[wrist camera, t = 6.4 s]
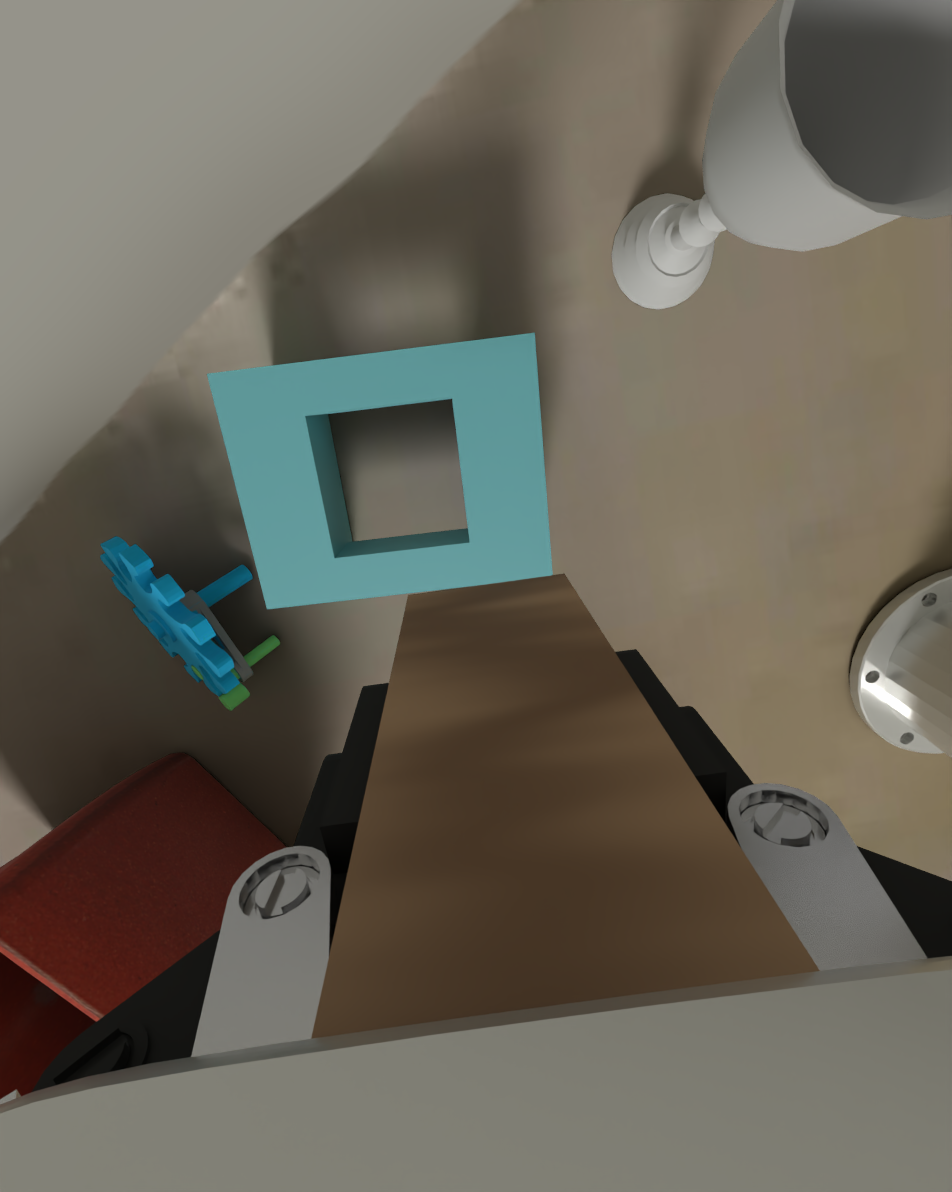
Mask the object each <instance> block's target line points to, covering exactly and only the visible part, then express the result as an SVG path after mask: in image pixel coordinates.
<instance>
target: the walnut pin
mask: <svg viewBox="0 0 952 1192" xmlns="http://www.w3.org/2000/svg"><path fill="white" fill-rule="evenodd" d="M815 971H820V970H819V969H818V967H817V965H816V964H815V962H814V961H813V959H812V958H811V956H810V955H809V953H808V951H807V950H806V948H805V947H804V945H803V944H802V942H801V941H800V939H799V937H798V936H797V934H796V933H795V931H794V930H793V928H792V927H791V925H790V923H789V922H788V920H787V919H786V917H785V916H784V914H783V913H782V911H781V909H780V908H779V906H778V905H777V903H776V902H775V900H774V899H773V897H772V896H771V894H770V892H769V891H768V889H767V888H766V886H765V885H764V883H763V882H762V880H761V878H760V877H759V875H758V874H757V872H756V871H755V869H754V868H753V866H752V864H751V863H750V861H749V860H748V858H747V857H746V855H745V854H744V852H743V850H742V849H741V847H740V846H739V844H738V843H737V841H736V840H735V838H734V836H733V835H732V833H731V832H730V830H729V829H728V827H727V826H726V824H725V822H724V821H723V819H722V818H721V816H720V815H719V813H718V812H717V810H716V808H715V807H714V805H713V804H712V802H711V801H710V799H709V798H708V796H707V795H706V793H705V791H704V790H703V788H702V787H701V785H700V784H699V782H698V781H697V779H696V777H695V776H694V774H693V773H692V771H691V770H690V768H689V767H688V765H687V763H686V762H685V760H684V759H683V757H682V756H681V754H680V753H679V751H678V749H677V748H676V746H675V745H674V743H673V742H672V740H671V739H670V737H669V735H668V734H667V732H666V731H665V729H664V728H663V726H662V725H661V723H660V721H659V720H658V718H657V717H656V715H655V714H654V712H653V711H652V709H651V708H650V706H649V704H648V703H647V701H646V700H645V698H644V697H643V695H642V694H641V692H640V690H639V689H638V687H637V686H636V684H635V683H634V681H633V680H632V678H631V676H630V675H629V673H628V672H627V670H626V669H625V667H624V666H623V664H622V662H621V661H620V659H619V658H618V656H617V655H616V653H615V652H614V650H613V648H612V647H611V645H610V644H609V642H608V641H607V639H606V638H605V636H604V634H603V633H602V631H601V630H600V628H599V627H598V625H597V624H596V622H595V620H594V619H593V617H592V616H591V614H590V613H589V611H588V610H587V608H586V607H585V605H584V603H583V602H582V600H581V599H580V597H579V596H578V594H577V593H576V591H575V589H574V588H573V586H572V585H571V583H570V582H569V580H568V579H567V577H566V575H565V574H558V575H551V576H544V577H536V578H529V579H522V580H515V581H507V582H500V583H493V584H486V585H478V586H471V587H464V588H456V589H449V590H442V591H435V592H427V593H420V594H413V595H408V599H407V603H406V608H405V612H404V617H403V622H402V626H401V631H400V635H399V640H398V644H397V649H396V654H395V658H394V663H393V667H392V672H391V676H390V681H389V685H388V690H387V695H386V699H385V704H384V708H383V713H382V717H381V722H380V727H379V731H378V736H377V740H376V745H375V749H374V754H373V758H372V763H371V768H370V772H369V777H368V781H367V786H366V790H365V795H364V800H363V804H362V809H361V813H360V818H359V822H358V827H357V831H356V836H355V841H354V845H353V850H352V854H351V859H350V863H349V868H348V873H347V877H346V882H345V886H344V891H343V895H342V900H341V905H340V909H339V914H338V918H337V923H336V927H335V932H334V936H333V941H332V946H331V950H330V955H329V959H328V964H327V968H326V973H325V978H324V982H323V987H322V991H321V996H320V1000H319V1005H318V1009H317V1014H316V1019H315V1023H314V1028H313V1032H312V1037H311V1039H313V1038H320V1037H327V1036H334V1035H342V1034H349V1033H356V1032H363V1031H370V1030H377V1029H385V1028H392V1027H399V1026H406V1025H413V1024H420V1023H428V1022H435V1021H442V1020H449V1019H456V1018H464V1017H471V1016H479V1015H486V1014H493V1013H501V1012H508V1011H516V1010H523V1009H531V1008H538V1007H546V1006H553V1005H560V1004H568V1003H576V1002H583V1001H591V1000H598V999H606V998H613V997H621V996H628V995H636V994H644V993H651V992H659V991H666V990H674V989H682V988H689V987H697V986H705V985H713V984H721V983H729V982H737V981H744V980H752V979H760V978H768V977H776V976H784V975H792V974H800V973H807V972H815Z"/></svg>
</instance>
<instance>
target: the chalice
mask: <svg viewBox="0 0 952 1192" xmlns="http://www.w3.org/2000/svg"><path fill="white" fill-rule="evenodd" d="M702 165H703V182H704V191H705V194H704V195H703V197H702V199H699V200H695V201H693V200H692V199H689V198H687V197H684V196H681V195H675V194H668V193H666V194H661V195H656V196H652V197H649V198H648V199H646V200H644V201H643V202H641V203H639V204H638V205H636V206H635V207H634V208H633V209H632V210H631V211H630V212H629V214H628V215H627V216H626V217H625V218H624V219H623V221H622V223H621V225H620V227H619V229H618V231H617V233H616V235H615V239H614V244H613V250H612V264H613V273H614V275H615V278H616V280H617V282H618V285H619V287H620V289H621V290H622V291H623V292H624V293H625V294H626V296H627V297H628V298H629V299H630V300H631V301H633V302H635V303H637V304H639V305H641V306H642V307H646V308H653V309H663V308H668V307H673V306H676V305H677V304H679V303H681V302H683V301H684V300H686V299H688V298H689V297H690V296H691V295H692V294H693V293H694V292H695V291H696V290H697V289H698V288H699V287H700V286H701V284H702V282H703V281H704V279H705V277H706V275H707V273H708V271H709V269H710V265H711V261H712V257H713V252H714V243H715V239H716V238H717V236H718V234H719V233H720V231H725V230H726V229H727V230H728V231H729V232H730V233H732V234H734V235H736V236H738V237H740V238H742V239H743V240H745V241H747V242H749V243H752V244H757V245H762V246H767V247H772V248H780V249H787V250H795V251H802V252H803V251H808V250H813V249H818V248H823V247H828V246H833V245H837V244H839V243H841V242H844V241H846V240H848V239H851V238H853V237H855V236H858V235H860V234H862V233H864V232H867V231H869V230H871V229H874V228H876V227H878V226H881V225H883V224H885V223H888V222H890V221H892V220H894V219H897V218H899V217H901V216H906V217H913V218H921V219H931V218H936V217H942V216H947V215H952V0H777V1H776V3H775V4H774V5H773V7H772V8H771V9H770V11H769V12H768V13H767V15H766V16H765V17H764V18H763V20H762V21H761V22H760V24H759V25H758V26H757V28H756V29H755V30H754V32H753V33H752V34H751V35H750V37H749V38H748V39H747V41H746V42H745V43H744V45H743V46H742V47H741V49H740V50H739V51H738V53H737V54H736V56H735V57H734V59H733V61H732V63H731V65H730V67H729V69H728V71H727V72H726V74H725V76H724V78H723V80H722V82H721V84H720V86H719V88H718V89H717V91H716V93H715V98H714V102H713V107H712V111H711V115H710V120H709V124H708V129H707V133H706V139H705V146H704V152H703V159H702Z"/></svg>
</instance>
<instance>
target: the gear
mask: <svg viewBox="0 0 952 1192" xmlns="http://www.w3.org/2000/svg"><path fill="white" fill-rule="evenodd" d="M100 545H101V547H102V548H103V550H104V551H105V553H104V554H102V555H101V556H100V558H101V560H102V561H103V563H104V564H105V565H106V566H107V567H108V568H109V569H110V570H111V571H112V573H113V574H114V575H115V576H113V577H112V580H113V582H114V584H115V586H116V588H117V589H118V590H119V591H120V592H121V593H122V594H123V595H124V596H126V597H127V598H128V599H129V600H130V601H131V602H132V603H133V604H134V605H135V606H136V607H135V608H133V611H134V612H135V614H136V615H137V617H138V618H139V619H140V621H141V622H142V623H143V624H144V625H145V626H147V628H148V629H149V631H150V632H151V633H152V634H153V635H154V636H155V637H156V638H157V639H158V640H159V642H160V644H161V645H162V646H163V648H164V649H165V650H166V651H167V652H168V653H169V655H170V656H171V657H175V656H176V655H177V654H179V655H180V656H181V657H182V658H183V659H184V661H185V662H186V663H187V664H186V665H184V667H185V669H186V671H187V672H188V673H189V674H190V675H191V676H192V677H193V678H194V679H195V680H196V681H197V682H198V683H199V682H200V681H202V680H203V681H204V683H205V684H206V686H207V687H208V688H209V689H210V690H211V691H212V692H213V693H214V694H216V695H217V696H220V695H221V696H220V697H219V699H220V701H221V702H222V704H223V705H224V706H225V707H226V708H227V709H228V710H230V711H231V710H233V709H234V708H235V707H236V706H238V705H239V704H240V703H242V702H243V701H244V700H245V699H247V698H248V697H249V696H250V693H249V692H248V690H247V689H246V688H245V687H244V686H243V685H242V684H241V683H240V682H244V681H245V680H247V679H248V678H249V677H250V676H252V675H253V671H252V669H251V668H250V667H251V666H252V665H254V664H255V663H256V662H258V661H259V660H260V659H262V658H263V657H264V656H266V655H267V654H268V653H270V652H271V651H272V650H273V649H275V648H276V647H277V646H279V645H280V642H279V640H278V639H277V638H276V637H275V636H274V635H272V636H271V637H269V638H268V639H267V640H265V641H264V642H263V643H261V644H260V645H258V646H257V647H256V648H254V649H253V650H252V651H250V652H249V653H248V654H246V655H245V656H244V657H243V656H242V655H241V653H240V652H239V650H238V649H237V648H236V646H235V645H234V643H233V642H232V640H231V639H230V638H229V636H228V635H227V633H226V632H225V630H224V629H223V628H222V626H221V625H220V623H219V622H218V620H217V619H216V618H215V616H214V615H213V613H212V612H211V610H210V609H209V607H210V606H212V605H213V604H215V603H216V602H218V601H219V600H221V599H222V598H224V597H225V596H227V595H229V594H230V593H232V592H233V591H235V590H236V589H238V588H239V587H241V586H242V585H244V584H245V583H247V582H248V581H250V580H252V579H253V577H252V574H251V572H250V571H249V570H248V568H247V567H246V566H244V565H240V566H238V567H237V568H235V569H234V570H232V571H231V572H229V573H227V574H226V575H224V576H223V577H221V578H219V579H218V580H216V581H215V582H213V583H211V584H210V585H208V586H207V587H205V588H203V589H202V590H200V591H199V592H197V593H196V592H195V591H193V590H189V591H188V592H186V593H185V594H184V592H183V591H182V589H181V588H180V587H179V585H178V584H177V583H176V582H175V581H174V579H173V578H172V577H171V576H170V575H169V574H166V575H164V576H162V577H161V578H159V579H157V578H156V577H155V576H154V575H153V573H152V571H151V569H150V568H152V567H153V566H154V565H153V562H152V560H151V559H150V557H149V556H148V555H147V554H146V553H145V552H144V551H143V550H142V549H141V548H140V547H139V546H137V545H136V544H134V545H132V546H131V547H129V546H128V544H127V543H126V542H125V541H124V540H123V539H121V538H120V537H117V536H115V537H114V538H112V539H110V540H108V541H106V542H104V543H102V544H100ZM161 638H162V639H161ZM211 638H212V639H213V640H214V641H215V643H216V644H217V645H216V644H215V643H214V642H213V641H212V640H211ZM238 680H239V681H240V682H239V681H238ZM223 693H224V694H223Z"/></svg>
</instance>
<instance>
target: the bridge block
mask: <svg viewBox="0 0 952 1192" xmlns="http://www.w3.org/2000/svg"><path fill="white" fill-rule="evenodd" d="M207 376H208V380H209V384H210V388H211V392H212V396H213V400H214V404H215V408H216V411H217V415H218V419H219V423H220V427H221V431H222V435H223V439H224V443H225V447H226V451H227V455H228V459H229V462H230V466H231V470H232V474H233V478H234V482H235V486H236V490H237V494H238V498H239V502H240V506H241V509H242V513H243V517H244V521H245V525H246V529H247V533H248V537H249V541H250V545H251V549H252V553H253V556H254V560H255V564H256V568H257V572H258V576H259V580H260V584H261V588H262V592H263V596H264V600H265V604H266V607H267V609H275V608H284V607H293V606H301V605H310V604H319V603H328V602H337V601H345V600H354V599H363V598H372V597H381V596H389V595H398V594H407V593H416V592H425V591H433V590H442V589H451V588H460V587H469V586H478V585H486V584H493V583H500V582H507V581H515V580H522V579H529V578H536V577H544V576H551V575H553V574H552V561H551V547H550V534H549V520H548V506H547V493H546V479H545V466H544V452H543V439H542V425H541V412H540V398H539V385H538V371H537V358H536V344H535V333H528V334H520V335H512V336H504V337H496V338H488V339H480V340H472V341H464V342H457V343H449V344H441V345H433V346H425V347H417V348H409V349H401V350H393V351H385V352H377V353H369V354H361V355H353V356H345V357H337V358H329V359H321V360H313V361H305V362H297V363H289V364H281V365H274V366H266V367H258V368H250V369H242V370H234V371H226V372H218V373H210V374H207ZM447 399H452V402H453V410H454V418H455V427H456V435H457V443H458V451H459V459H460V467H461V476H462V484H463V492H464V500H465V508H466V516H467V525H468V528H466V529H458V530H449V531H441V532H432V533H423V534H415V535H406V536H398V537H389V538H381V539H372V540H363V541H355V542H353V541H352V536H351V531H350V526H349V521H348V515H347V510H346V505H345V500H344V495H343V489H342V484H341V479H340V474H339V469H338V464H337V458H336V453H335V448H334V443H333V438H332V433H331V427H330V422H329V417H328V414H333V413H341V412H349V411H357V410H365V409H373V408H382V407H390V406H398V405H406V404H414V403H422V402H430V401H438V400H447Z"/></svg>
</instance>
